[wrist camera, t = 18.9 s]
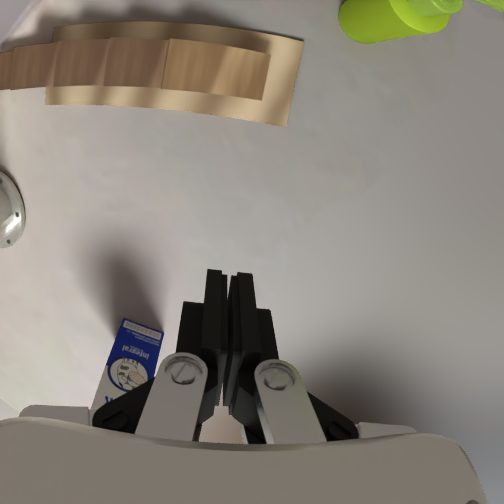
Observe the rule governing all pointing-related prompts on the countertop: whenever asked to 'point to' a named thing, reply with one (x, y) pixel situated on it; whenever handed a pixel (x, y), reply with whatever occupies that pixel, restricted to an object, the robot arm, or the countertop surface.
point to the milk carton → (129, 361)
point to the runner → (264, 111)
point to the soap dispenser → (398, 17)
